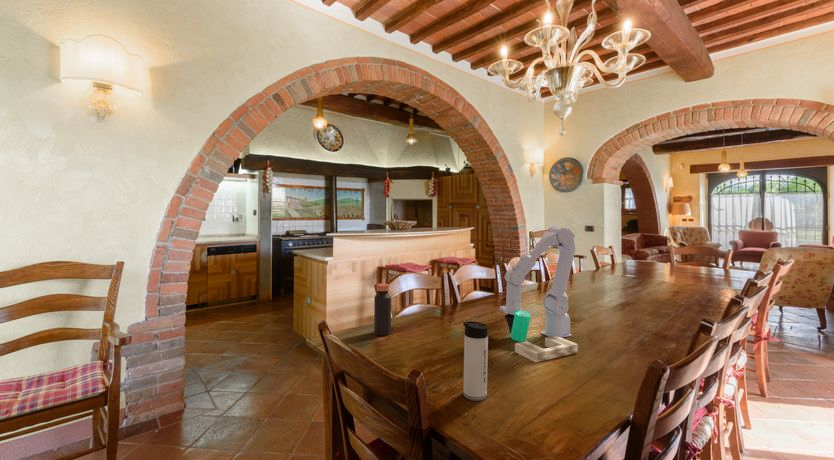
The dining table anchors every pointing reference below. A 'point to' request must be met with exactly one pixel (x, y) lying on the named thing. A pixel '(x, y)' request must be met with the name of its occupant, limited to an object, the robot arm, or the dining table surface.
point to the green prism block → (520, 326)
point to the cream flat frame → (546, 349)
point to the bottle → (382, 311)
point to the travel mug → (475, 360)
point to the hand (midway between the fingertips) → (512, 333)
